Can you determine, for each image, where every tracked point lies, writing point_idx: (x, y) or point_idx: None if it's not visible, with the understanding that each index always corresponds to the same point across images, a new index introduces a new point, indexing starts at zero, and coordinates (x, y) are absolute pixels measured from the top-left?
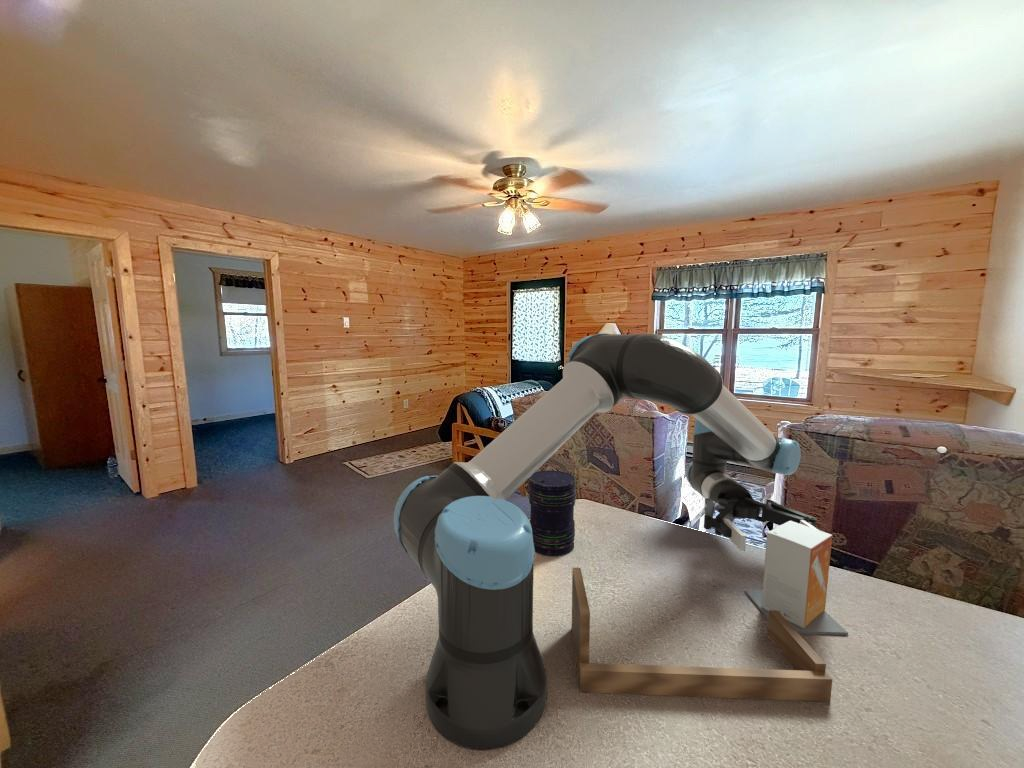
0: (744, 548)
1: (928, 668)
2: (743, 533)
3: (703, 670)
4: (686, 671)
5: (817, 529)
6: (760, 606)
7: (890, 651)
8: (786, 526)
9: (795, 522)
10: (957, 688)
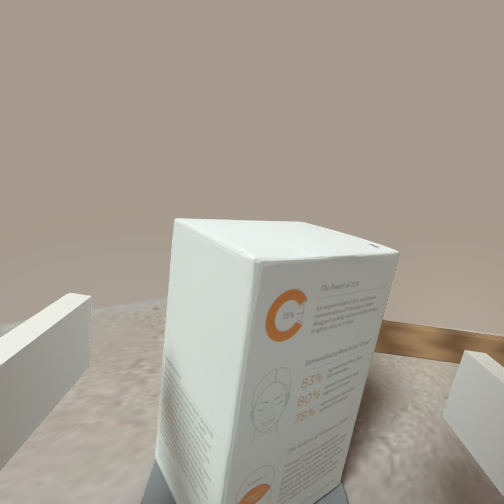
0: (448, 406)
1: (120, 344)
2: (480, 362)
3: (458, 333)
4: (477, 334)
5: (6, 335)
6: (340, 490)
7: (138, 368)
8: (311, 247)
9: (243, 249)
10: (126, 326)
